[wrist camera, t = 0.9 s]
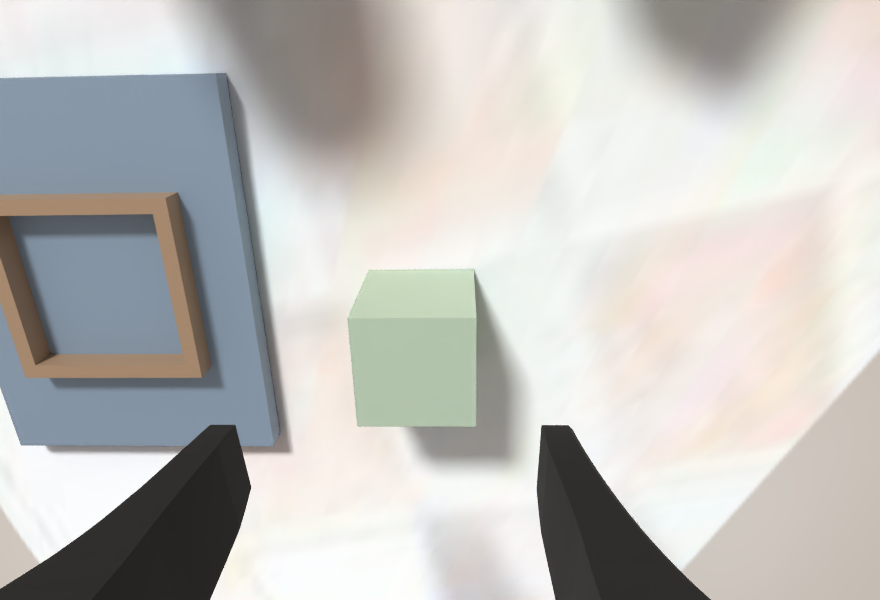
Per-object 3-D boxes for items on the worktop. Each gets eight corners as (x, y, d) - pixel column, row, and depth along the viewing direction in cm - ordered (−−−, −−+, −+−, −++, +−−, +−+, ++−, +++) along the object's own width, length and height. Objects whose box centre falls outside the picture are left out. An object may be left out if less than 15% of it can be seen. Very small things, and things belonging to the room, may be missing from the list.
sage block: (473, 361, 26) (476, 426, 21) (375, 361, 26) (357, 426, 22) (473, 268, 24) (476, 317, 20) (368, 269, 25) (347, 318, 20)
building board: (280, 433, 28) (267, 460, 26) (35, 432, 28) (5, 458, 26) (226, 73, 22) (203, 74, 20) (-86, 80, 22) (-135, 81, 20)
